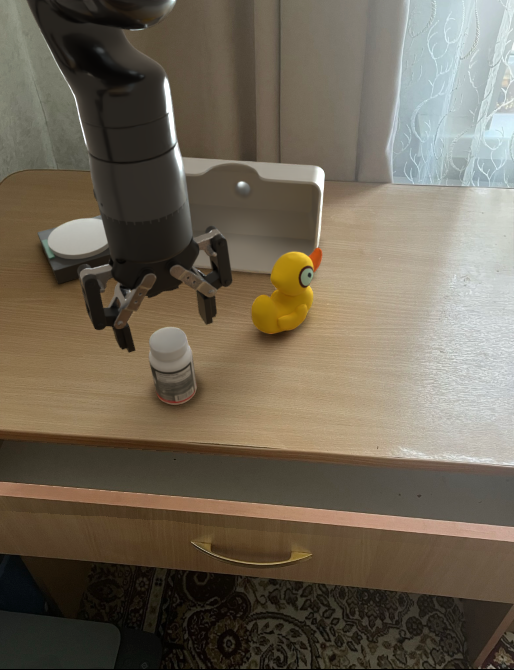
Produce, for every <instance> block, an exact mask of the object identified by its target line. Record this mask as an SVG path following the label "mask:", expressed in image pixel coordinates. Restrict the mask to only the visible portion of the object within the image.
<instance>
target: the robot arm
mask: <svg viewBox="0 0 514 670" xmlns="http://www.w3.org/2000/svg"><path fill="white" fill-rule="evenodd" d="M25 1H26V3H27V5H28V8H29V10H30V12H31V15H32V16H33V18H34V21H35V23H36V25H37V27H38V29H39V31H40V34H41V35H42V37H43V39H44V41H45V43H46V45H47V47H48V49H49V51H50V54H51V55H52V57H53V59H54V62H55V63H56V65H57V67H58V69H59V71H60V73H61V74H62V76H63V78H64V80H65V82H66V83H67V85H68V87H69V88H70V90H71V93H72V94H73V97H74V100H75V104H76V108H77V109H76V110H77V114H78V119H79V122H80V123H79V124H80V126H81V131H82V135H83V138H84V143H85V147H86V151H87V155H88V162H89V172H90V173H89V174H90V178H91V184H92V189H93V190H92V191H93V192H92V193H93V198H94V199H95V201H96V203H97V206H98V210H99V214H100V215H101V218H102V222H103V226H104V230H105V234H106V238H107V242H108V245H109V249H110V260H109V262H108V264H107V265H104V266H100V267H96V268H92V269H91V267H90V266H89V265H88V264H82V265H80V266H79V267H78V269H77V271H78V275H79V278H78V279H79V284H80V287H81V292H82V297H83V301H84V304H85V305H84V306H85V309H86V313H87V315H88V317H89V320H90V322H91V324H92V326H93V328H94V330H96V331H103V330H104V329H106V327H110V328H112V332H113V334H114V339H115V341H116V343H117V345H118V347H119V348H120V349H121V350H122V351H124V350H126V351H127V353H129V354H130V353H133V352H135V351H136V345H135V343H134V339H133V334H132V331H131V328H130V324H129V320H130V319H131V317H132V315H133V313H135V312H138V310H139V308H140V306H141V305H142V303H143V301H144V300H145V298H146V297H147V298H148V299H151V298H154V297H157V296H159V295H160V294H162V293H163V292H172V291H175V290H178V289H180V286H181V285H182V284H185V285H187V286H188V287H190V288H191V289H192V290H194V291H195V294H196V301H197V303H196V304H197V309H198V314H199V317H200V318H201V320H202V321H203V322H204V324H205V325H206V326H208V325H210V324H213V323H214V320H213V319H214V318H216V316H217V314H218V311H217V301H216V295H217V293H218V290H219V289H221V288H222V287H223V288H228V287H230V286H231V285H232V283H233V282H234V281H233V274H232V271H231V266H230V259H229V252H228V245H227V240H226V239H225V238H224V237H223V235H222V234H221V233H220V232H219V230H217V228H216V227H215V226H209V227H208V228H207V229H206V230H205V234H203V235H201V236H198V237H195V238H193V232H192V224H191V217H190V209H189V201H188V193H187V185H186V177H185V169H184V164H183V159H182V157H183V156H182V152H181V148H180V145H179V140H178V132H177V125H176V117H175V110H174V102H173V95H172V89H171V83H170V79H169V76H168V73H167V71H166V69H165V68H164V67H163V65H161V64H160V63H159V62H158V61H156V60H155V59H154V58H152V57H150V56H149V55H147V54H145V53H143V52H142V51H140V50H139V49H137V48H136V47H135V46H133V44H132V43H131V42H130V41H129V39H128V37H127V36H126V33H125V31H126V30H127V31H141V30H142V31H143V30H147V29H150V28H152V27H155V26H157V25H160V24H162V22H163V21H164V20H166V18H167V17H168V16H169V15H170V14H171V13H172V11H173V9H174V8H175V6H176V4H177V2H178V0H25ZM124 30H125V31H124ZM200 250H204V252H205V253H206V254H207V255H208V256H209V257H210V263H211V271H210V272H209V273H207V274H206V273H203V272H202V271H201V270H200V269H198V268H197V267H194V266H193V264H194V262H195V260H196V259H197V257H198V255H199V251H200ZM111 279H113V280H114V281H116V285H115V287H114V292H113V293H114V294H113V297H112V298H111V300H110V302H109V304H108V305H107V307H104V304H103V299H102V294H104V293H105V292H106V288H107V285H108V282H109V280H111Z"/></svg>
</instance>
